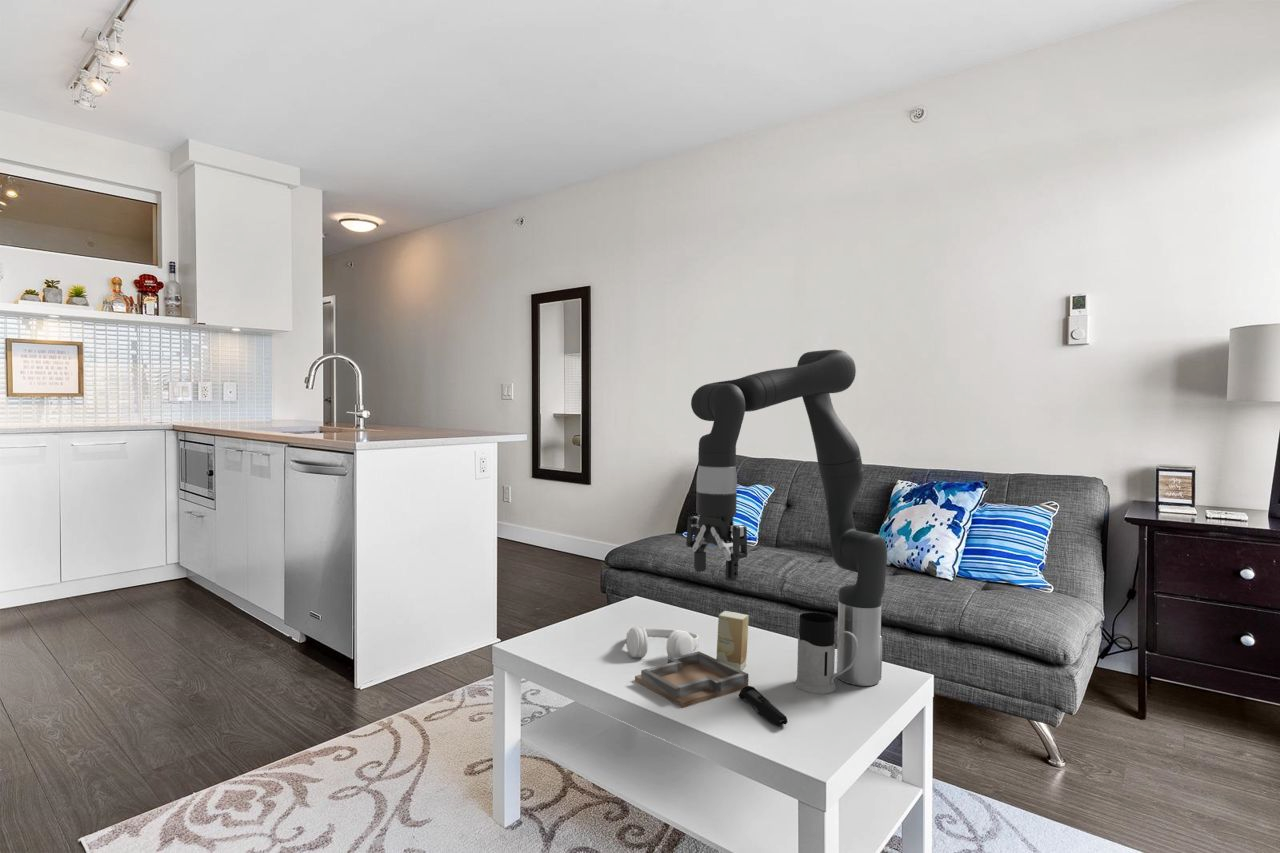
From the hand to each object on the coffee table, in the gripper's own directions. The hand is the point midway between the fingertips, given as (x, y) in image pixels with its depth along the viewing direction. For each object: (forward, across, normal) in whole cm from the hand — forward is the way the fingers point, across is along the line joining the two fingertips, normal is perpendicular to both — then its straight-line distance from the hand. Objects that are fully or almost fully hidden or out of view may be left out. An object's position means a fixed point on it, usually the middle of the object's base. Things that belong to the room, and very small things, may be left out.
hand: (715, 575), depth 126 cm
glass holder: (+29, -1, -32) cm, 43 cm away
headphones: (+29, +38, -17) cm, 51 cm away
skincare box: (+29, +20, -24) cm, 43 cm away
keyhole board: (+28, +17, -9) cm, 34 cm away
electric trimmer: (+29, -1, -13) cm, 32 cm away
